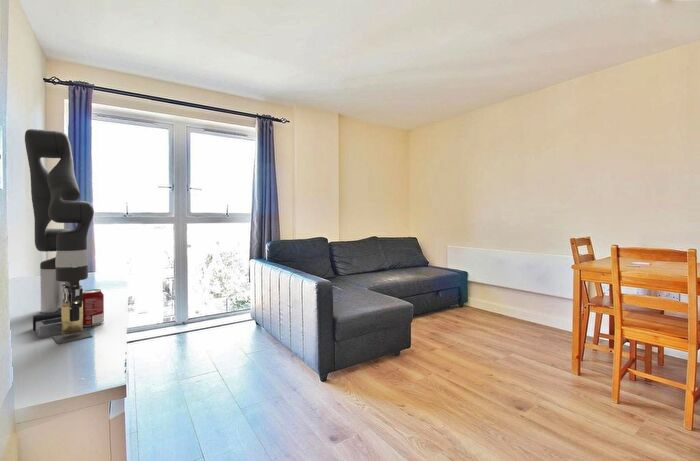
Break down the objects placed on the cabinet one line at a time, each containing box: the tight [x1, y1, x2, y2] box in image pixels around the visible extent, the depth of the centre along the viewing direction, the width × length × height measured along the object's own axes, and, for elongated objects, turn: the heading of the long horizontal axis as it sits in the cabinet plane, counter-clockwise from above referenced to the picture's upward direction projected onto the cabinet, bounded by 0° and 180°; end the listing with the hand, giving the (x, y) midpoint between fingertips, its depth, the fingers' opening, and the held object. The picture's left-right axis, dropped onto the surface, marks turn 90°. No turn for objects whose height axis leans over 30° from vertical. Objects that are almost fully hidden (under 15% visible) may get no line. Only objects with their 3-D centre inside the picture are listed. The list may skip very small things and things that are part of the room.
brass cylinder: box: [61, 301, 84, 335], centre depth 98 cm, size 5×5×9 cm
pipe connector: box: [32, 308, 62, 332], centre depth 112 cm, size 12×5×15 cm
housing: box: [35, 317, 63, 339], centre depth 102 cm, size 8×8×4 cm
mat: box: [52, 329, 93, 345], centre depth 98 cm, size 8×8×1 cm
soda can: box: [82, 288, 105, 328], centre depth 110 cm, size 7×7×12 cm
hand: (72, 318), depth 98 cm, fingers closed on brass cylinder, 5 cm apart
